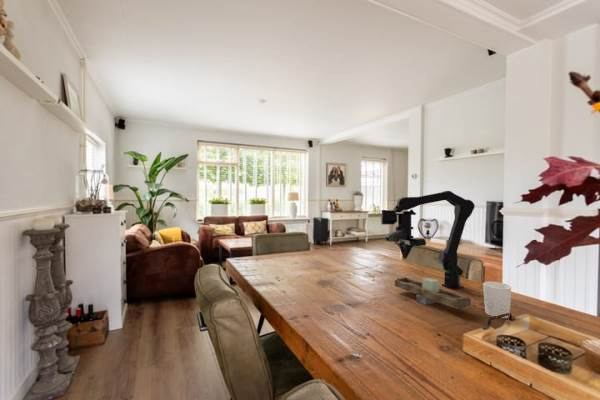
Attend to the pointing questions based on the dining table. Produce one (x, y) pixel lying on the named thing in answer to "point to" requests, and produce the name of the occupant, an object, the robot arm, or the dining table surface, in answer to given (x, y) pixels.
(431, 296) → the beam
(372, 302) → the dining table surface
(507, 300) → the white cup
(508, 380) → the dining table surface
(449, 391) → the dining table surface
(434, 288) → the pale green cube
